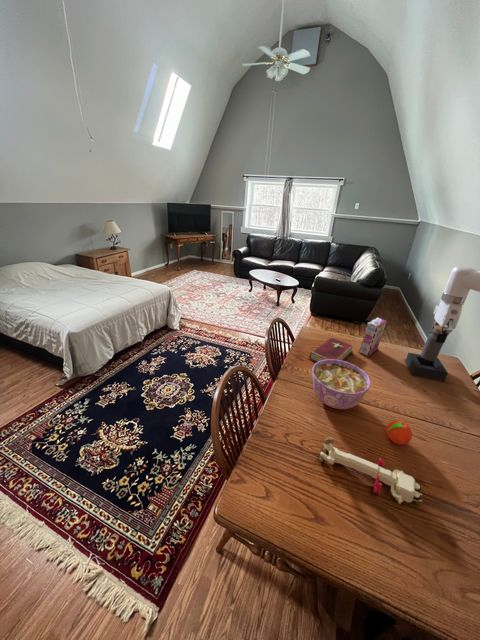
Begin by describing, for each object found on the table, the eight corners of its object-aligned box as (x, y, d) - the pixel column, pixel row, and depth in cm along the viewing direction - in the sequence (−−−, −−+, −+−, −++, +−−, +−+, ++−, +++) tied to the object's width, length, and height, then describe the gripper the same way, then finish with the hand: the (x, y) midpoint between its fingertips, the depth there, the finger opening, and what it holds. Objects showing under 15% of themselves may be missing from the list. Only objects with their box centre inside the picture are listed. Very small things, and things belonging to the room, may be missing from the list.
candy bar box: (368, 357, 128) (377, 326, 121) (358, 352, 132) (366, 322, 125) (378, 349, 135) (387, 320, 128) (368, 345, 139) (376, 316, 132)
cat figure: (316, 470, 75) (421, 519, 63) (318, 448, 72) (430, 494, 60) (325, 445, 83) (421, 484, 71) (328, 424, 80) (429, 460, 67)
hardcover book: (309, 358, 125) (310, 351, 123) (329, 343, 139) (330, 336, 137) (333, 369, 118) (335, 361, 116) (352, 352, 132) (354, 344, 130)
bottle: (438, 362, 115) (452, 331, 108) (423, 360, 116) (436, 330, 109) (432, 354, 120) (445, 325, 113) (418, 352, 121) (430, 323, 114)
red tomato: (390, 451, 81) (397, 434, 78) (376, 433, 87) (381, 416, 84) (413, 448, 82) (421, 431, 79) (397, 430, 88) (403, 414, 85)
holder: (434, 365, 124) (437, 357, 122) (444, 381, 113) (448, 372, 112) (405, 360, 127) (408, 352, 125) (412, 375, 116) (415, 366, 115)
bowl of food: (322, 423, 89) (329, 397, 85) (298, 385, 107) (302, 361, 102) (374, 416, 94) (384, 390, 89) (343, 380, 111) (349, 357, 106)
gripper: (474, 308, 97) (455, 350, 105) (455, 293, 112) (439, 331, 120) (450, 305, 99) (433, 346, 107) (434, 290, 114) (420, 328, 122)
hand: (436, 338), depth 113 cm, fingers closed on bottle, 5 cm apart
